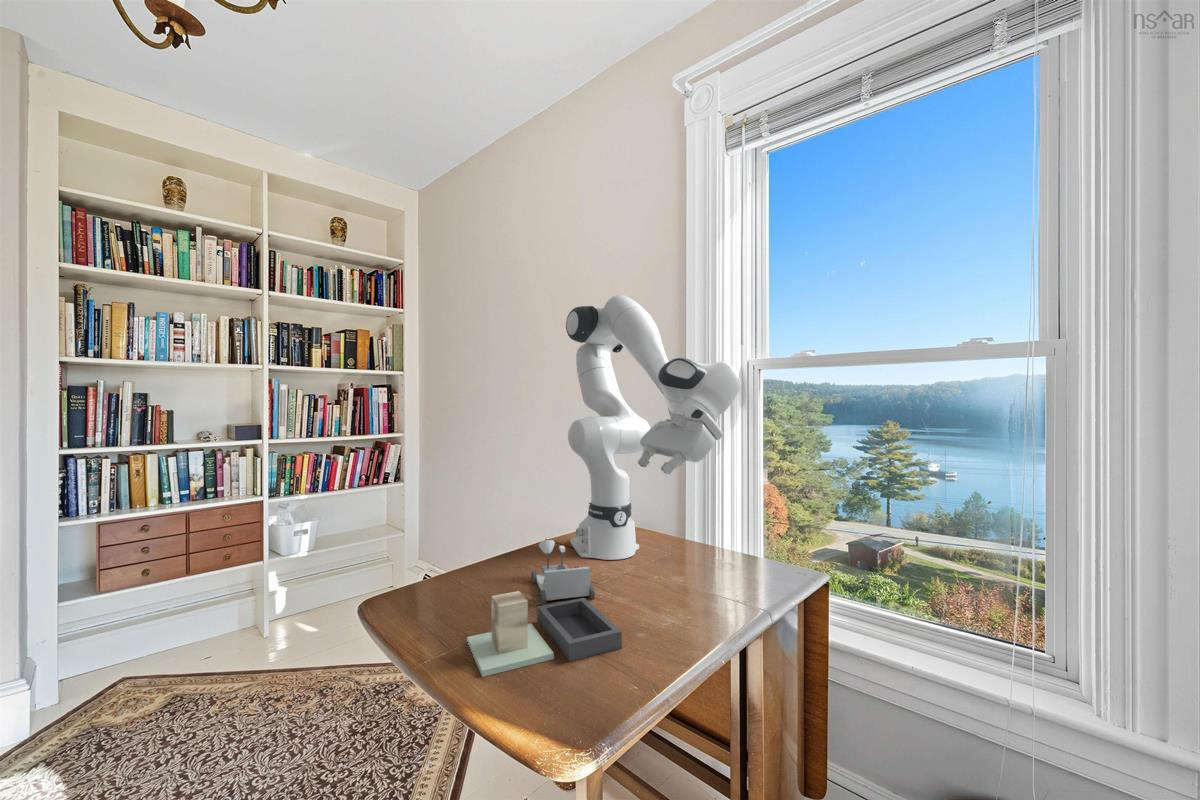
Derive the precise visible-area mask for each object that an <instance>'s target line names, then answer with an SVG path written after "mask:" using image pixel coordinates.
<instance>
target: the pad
mask: <svg viewBox="0 0 1200 800" xmlns="http://www.w3.org/2000/svg"><path fill="white" fill-rule="evenodd" d="M491 634H492V631H489V632H484V633H479V634H476V635H470V636H467V637H466V643H467V642H468V643H467V646H468V645H469V646H468V648H469V647H470V648H469V650H470V649H471V650H470V652H472V653H471V655H472V654H473V655H472V657H473V659H474V661H475V664H476V666H477V668H478V671H479V673H480V675H481V678H483V677H489V676H492V675H495V674H501V673H504V672H508V671H511V670H515V669H520V668H523V667H528V666H531V665H536V664H539V663H543V662H548V661H551V660H554V659H555V655H554V654H555V653H554V651H553V650H552V649H551V647H550V646H549V644H548V643H547V642H546V640H544V638H543V637H542V635H540V633H539V632H538V630H537V629H536V627H534V625H533V624H532V622H531V623H528V648H525V649H521V650H516V651H512V652H508V653H504V654H498V652H497V650H496V649H495V647H494V645H493V643H492V641H491Z"/></svg>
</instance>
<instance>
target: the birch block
mask: <svg viewBox="0 0 1200 800" xmlns="http://www.w3.org/2000/svg"><path fill="white" fill-rule="evenodd" d="M528 605H529V601H528V599H527V598H526V597H525V596H524V595H523V593H522V592H521V591H519V590H517V591H511V592H506V593H500V594H495V595H491V632H492V634H491V641H492V643H493V645H494V647H495V649H496V650H497V652H498V654H504V653H508V652H512V651H516V650H521V649H525V648H528V624H529V623H528V622H529V621H528V617H529V614H528V610H529V609H528V608H529V606H528Z"/></svg>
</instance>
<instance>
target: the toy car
mask: <svg viewBox="0 0 1200 800" xmlns="http://www.w3.org/2000/svg"><path fill="white" fill-rule="evenodd" d="M555 544H556V542H555V541H554V540H553V539H548V538H545V540H542V541H540V542H539V544H538V547H539V549H540V551H542V553H544V554H546V557H547V559H546V560H547V561H546V562H547V564H546V565H543V566H541V571H542V573H541V574H537V572H536V570H531V582H532V581H533V583H536V584H537V585H538V589H540V592H539V600H540V604H541V606H545V605H547V601H554V600H561V599H562V600H563V599H570V598H579V597H580V598H582V597H588V598H589V600H594V599H595V595H596V592H595V587H594V585H593V584H591V568H590V566H584V567H581V566H579V565H578V566H575V567H573V568H572V567H571V568H569V567H568V566H567V564H566V563H565V564H564V553H566V547H565V546H564V545H559V551H560V553H561V560H560V562H561V564H555V565H554V564H553V565H550V554H551V553H552V552H553V550H554V548H555ZM533 583H532V584H533Z"/></svg>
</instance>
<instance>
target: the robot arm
mask: <svg viewBox="0 0 1200 800" xmlns="http://www.w3.org/2000/svg"><path fill="white" fill-rule="evenodd" d="M565 323H566V324H565V329H566V334H567V335H568V337H569V339H571V340H572V341H574V342H576V343H581V345H580V346H579V347H578V349H576V350H577V351H576V354H575V355H576V358H575V361H576V362H575V363H576V372H577V378H578V384H579V387H580V391H581V392H580V393H581V395H582V401H583V403H584V405H586V407H587V408H588V409H590V410H592V411H593V412H596V413H597V415H599V416H588V417H584V418H579V419H576V420H574V421H573V422H572V423H571V425H570V427H569V429H568V433H567V441H568V445H569V447H570V448H571V450H572V451H573V452H574V453H575V454H576V455H578V456H579V457H580V458H581V459H582V460H583V462H584V464H585V465H586V468H587V470H588V474H589V479H590V492H591V494H590V495H591V497H590V498H591V499H590V500H591V501H590V502H588V512H587V514H588V515H587V516H586V517H585V518H584V519H583V520H581V521H580V523H578V528H575V529H576V530H575V534H576V537H573V538H571V539H570V540H569V541H570V545H571V546H572V548H574V549H573V550H575V551H576V553H577V555H578V556H579V557H581V558H587V559H588V558H591V559H599V560H611V561H613V560H624V559H628V558H630V557H633V556H634V555H636V552H637V551H638V550H639V549H640V544H638V543H637V542H636V541H637V539H636V528H635V520H633V519H632V518H631V517H632V502H631V499H630V498H631V497H630V496H631V484H630V483H631V482H630V481H631V479H630V476H629V475H628V473H627V472H626V471H625V470H624V469H622V468H621V467H618V466H617V464H616V462H615V459H614V458H615V457H614V455H624V454H625V455H629V454H634V453H638V452H641V451H642V453H641V457H640V458H639V459H638V460H637V464H638V465H639V466H640V467H642V468H647V467H648V465H649V464H650V459H651V458H652V457H653V456H655V455H659V456H664V457H667V458H671V459H670V460H669V461H664V463H663V464H662V465H661V466H660V470H661V471H662V472H663V473H664V474H667V475H670V474H672V472H673V471H674V470H675V469H677V468H678V467H680V466H681V465H683V464H684V463H685V462H691V463H698V462H700V461H702V460H703V459H704V458H705V457H706V456H707V454H708V453H709V452H710V451H711V450H712V449H713V447H715V445H716V442H717V441H719V440H720V439H721V438H722V437H723V435H724V432H723V431H722V429H721V428H720V426H719V425H718V424H717V421H718V418H720V416H721V415H722V414H724V413H725V412H726V411H727V410H728V408H729V407H730V406H731V404H732V403H733V402H734V400H735V399H736V397H737V396H738V394H739V391H740V390H741V388H742V383H741V382H742V381H741V378H740V375H739V372H737V370H736V369H735V368H734V367H733V366H732V365H731V364H729V363H727V362H725V361H717V362H716V361H715V362H713V363H704V362H696V361H693V360H691V359H689V358H685V357H677V358H672V359H671V360H669V359H668V357H667V354H666V351H665V348H664V345H663V341H662V337H661V333H660V331H659V328H658V327H657V324H656V323H655V321H654V319H653V316H651V314H649V312H648V311H647V310H646V309H645V308H644V307H643V306H642V305H641V304H639V303H638V302H637V301H636V300H634V299H633V298H631V297H628V296H627V295H624V294H617V295H614V296H612V297H610V298H609V299H608V300H607V301H606V302H605V304H604V306H603V307H602V308H601V307H595V306H593V305H584V306H583V305H582V306H577V307H574V308H572V309H571V310H570V312H568V315H567V317H566V322H565ZM582 343H583V344H582ZM623 348H624V349H625V350H626V351H627V353H629V355H630V356H631V357H633V359H634V360H635V361H636V362H637V364H639V365H640V367H641V368H643V370H644V371H645V372H646V373H647V374H648V376H649V377H650V379H651V380H652V381H653V383H654V384H655V385H656V387H657V389H658V390H659V391H660V392H661V393H662V395H663V397H664V399H665V403H666V406H667V410H668V414H669V417H670V418H667V419H665V420H660V421H658V422H655V424H654V425H652V427H651V426H650V424H649V423H648V421H647V420H646V419H645V418H643V417H641V416H639V415H638V414H637V413H636V412H635V411H634V410H633V409H632V408H631V407H630V406H629V405H628V403H627V401H626V400H625V398H624V397H623V395H622V392H621V390H620V388H619V385H618V382H617V380H618V379H617V377H616V373H615V370H614V366H613V363H612V358H611V357H612V353H615V354H616V353H620V352H621V351H623Z"/></svg>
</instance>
